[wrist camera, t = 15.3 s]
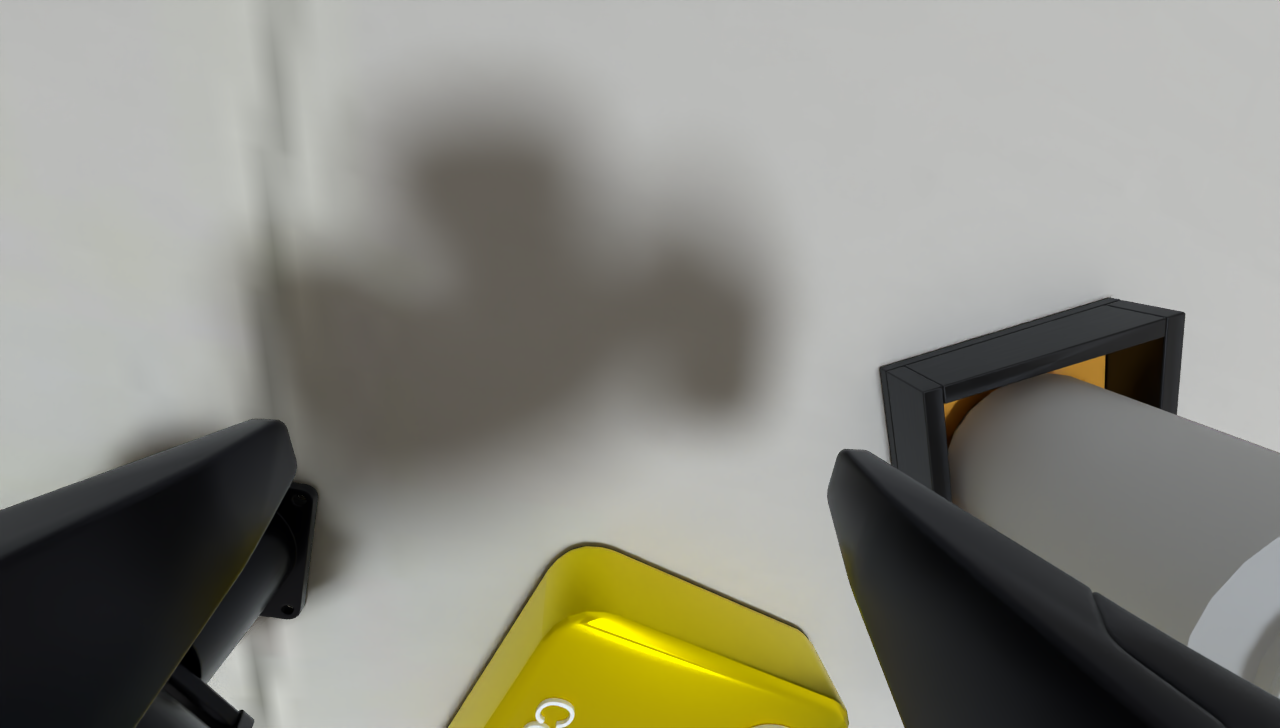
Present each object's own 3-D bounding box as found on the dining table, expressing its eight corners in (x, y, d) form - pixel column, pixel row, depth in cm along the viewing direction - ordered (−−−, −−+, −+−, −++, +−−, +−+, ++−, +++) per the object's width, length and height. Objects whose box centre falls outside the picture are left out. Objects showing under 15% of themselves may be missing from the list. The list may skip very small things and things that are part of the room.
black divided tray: (1110, 297, 22) (1186, 311, 20) (1098, 639, 29) (1154, 687, 26) (879, 367, 22) (922, 392, 19) (921, 695, 29) (958, 749, 26)
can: (1116, 389, 23) (1635, 576, 12) (1033, 528, 25) (1407, 803, 14) (980, 346, 22) (1420, 512, 10) (902, 498, 24) (1201, 776, 12)
